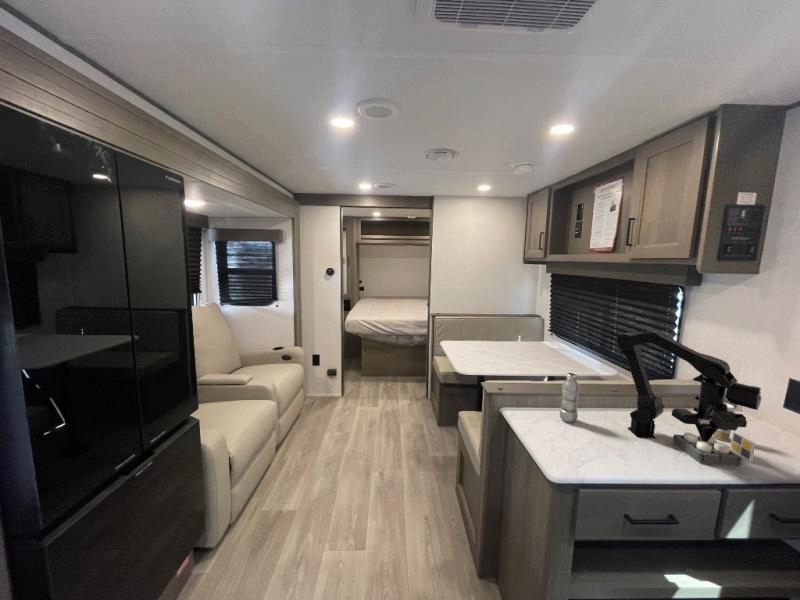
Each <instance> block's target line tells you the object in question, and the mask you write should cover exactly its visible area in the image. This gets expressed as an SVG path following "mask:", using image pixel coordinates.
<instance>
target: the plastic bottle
mask: <svg viewBox="0 0 800 600" xmlns="http://www.w3.org/2000/svg"><path fill="white" fill-rule="evenodd" d="M577 380H578V374H577V373H573V372H567V373H566V380H564V381H563V382H562V384H561V385H562V387H561V388H562V389H561V390H562V400H561V401H562V403H561V407H560V410H559V417H560V419H561V420H562V421H564V422H566V423H575V422H576V421H577V420H578V417H579V416H578V415H579V414H578V401H579V400H578V399H579V394H580V391H581V387H580V386H581V385H580V384H579V382H578V381H577Z"/></svg>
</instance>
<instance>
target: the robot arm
mask: <svg viewBox="0 0 800 600" xmlns="http://www.w3.org/2000/svg"><path fill="white" fill-rule="evenodd" d="M615 342H616V344H617V347H618V348H619V350H620V352H621V353H622V354H623V355H624V357H625V359H626V361H627V364H628V366H629V369H630V373H631V376H632V380H633V383H634V387H635V390H636V392H637V400H636V401H637V402H636V404H637V405H636V406H637V407H636V409H635V410H633V411H632V412H630V413H629V414H630V415H629V416H630V418H631V421H630V426H627V430H629V431H630V432H631V433H632V434H634V436H636V437H637V438H643V439H657V438H656V436H655V430H656V424H655V419H656V418H658V417H659V416H661V415H662V414H663V413H664V409H665V405H664V403H663V399H662V397H661V396H656V394H655V393H654V392H653V389H652V387H651V384H650V380H649V377H648V374H647V371H646V368H645V365H644V362H643V359H642V355H641V353H642V345H644V344H649V343H651V344H654V345H655V346H657V347H659V348H661V349H663V350H664V351H666V352H669V353H670V354H672V355H674V356H675V357H678V358H679V359H682V360H683V361H684V362H686V363H688V364H689V365H691V366H692V367H693V368H694V370H696V371H697V372H698V373H700V374H699V375H697V376H695V377H693V378H692V380H693V381H694V382H699V383H700V386H699V394H698V395H695V400H697V406H696V407H695V406H694V407H693V411H695V412H694V413H693V412H691V411H690V410H689V409H686V408H677V407H676V408H673V409H672V410H671V416H672V417H674V418H675V419H677V420H678V421H679V422H681V423H683V424H685V425H695V427H696V430H697V431H698V433H699V436H701V439H702V440H703V441H704V442H708V440H709V439H710V438H711V437H712V436H713V434H714V433H715V432H716V431H717V430H718V429H722V430H731V431H732V432H733V431H735V432H737V429H738V428H747V423H748V421H747V420H746V419H747V417H746V416H745V415H744V414H743V413H735V411H734V412H732V411H728V410H727V404H728V403H727V404H725V403H726V402H724V400H725V398H726V399H727V401H729V404H730V403H731V404H732V405H737V406H741V407H745V408H747V409H751V410H755V411H758V410H759V408H760V405H761V402H762V396H761V395H762V394H761V390H762V388H761V387H758V386H755V385H748V384H744V383H738V380H737V378H736V377H735V376H734V374H732V372H731V367H730V365H729V363H728V362H726V360H723V359H721V358H718V357H715V356H711V355H710V354H704V353H701V352H699V351H696V350H694V349H692V348H690V347H688V346H686V345H684V344H682V343H681V342H679V341H677V340H675V339H672V338H671V337H669V336H667V335H665V334H663V333H661V332H660V331H658V330H652V331H647V332H641V333H635V332H626V333H622V334H619V335H618V336H617V338H616V339H615ZM725 393H726V394H725Z"/></svg>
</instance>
